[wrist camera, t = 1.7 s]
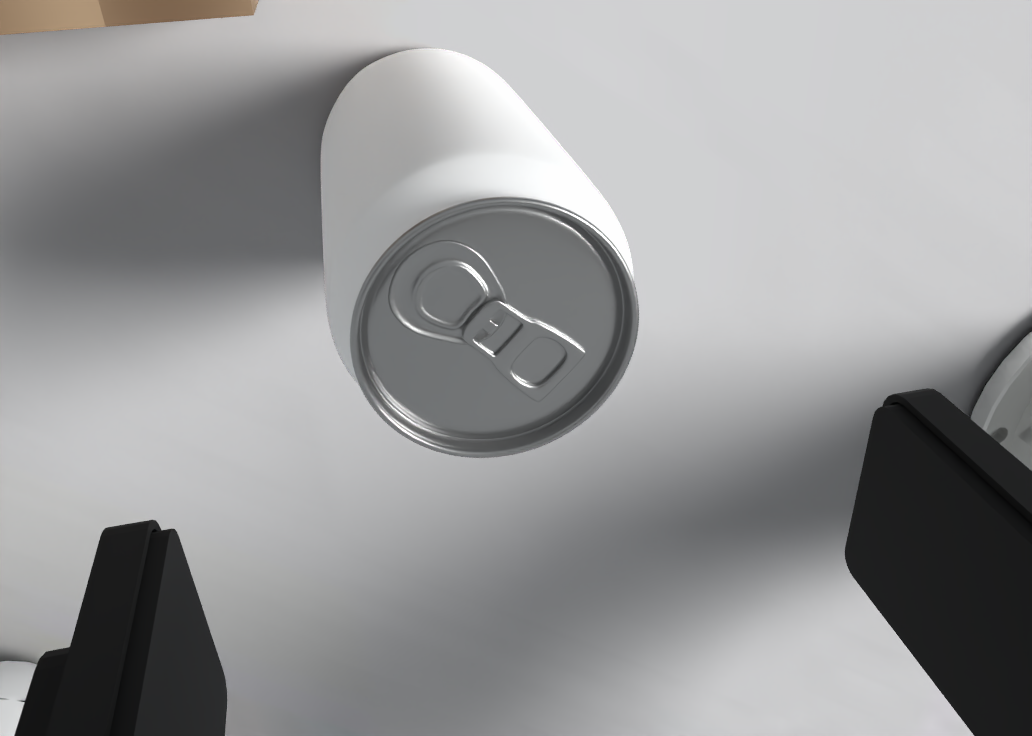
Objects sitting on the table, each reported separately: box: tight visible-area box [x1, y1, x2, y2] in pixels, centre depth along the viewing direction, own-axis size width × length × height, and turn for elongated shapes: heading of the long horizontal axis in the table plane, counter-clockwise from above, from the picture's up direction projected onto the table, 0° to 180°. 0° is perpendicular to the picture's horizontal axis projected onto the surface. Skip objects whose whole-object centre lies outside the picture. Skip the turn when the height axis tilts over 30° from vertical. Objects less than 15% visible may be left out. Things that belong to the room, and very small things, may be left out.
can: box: [321, 48, 639, 458], centre depth 22 cm, size 6×6×12 cm
